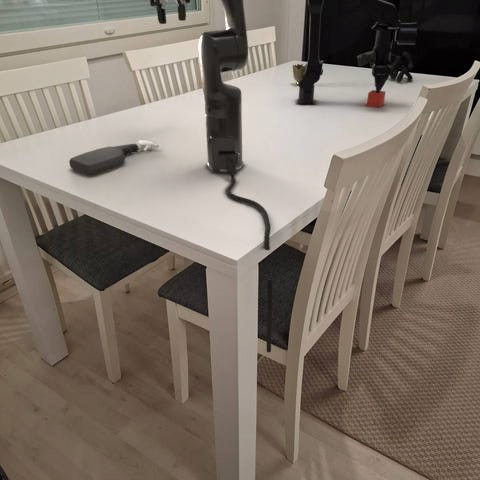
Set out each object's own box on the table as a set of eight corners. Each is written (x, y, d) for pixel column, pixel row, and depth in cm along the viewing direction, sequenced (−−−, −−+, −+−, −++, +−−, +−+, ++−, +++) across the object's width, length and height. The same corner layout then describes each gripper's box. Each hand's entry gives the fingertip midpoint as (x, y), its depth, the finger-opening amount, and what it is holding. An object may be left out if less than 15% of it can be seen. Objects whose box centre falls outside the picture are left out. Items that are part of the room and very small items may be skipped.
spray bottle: (67, 168, 120) (139, 144, 136) (91, 178, 114) (163, 151, 130) (65, 157, 118) (137, 134, 134) (89, 167, 112) (162, 142, 128)
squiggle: (400, 92, 202) (376, 71, 205) (417, 76, 202) (392, 56, 205) (405, 81, 191) (380, 59, 194) (423, 64, 191) (397, 42, 194)
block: (371, 102, 170) (372, 89, 167) (383, 104, 168) (385, 91, 165) (366, 105, 167) (368, 92, 164) (379, 107, 164) (381, 94, 162)
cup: (289, 85, 195) (289, 66, 191) (295, 82, 200) (296, 63, 196) (305, 87, 192) (306, 67, 188) (311, 83, 197) (312, 64, 193)
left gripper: (173, -45, 126) (178, 19, 135) (137, -45, 116) (145, 24, 125) (194, -45, 123) (198, 20, 132) (159, -45, 113) (166, 25, 122)
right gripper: (359, 39, 165) (354, 83, 173) (360, 48, 150) (354, 95, 158) (390, 40, 163) (384, 84, 171) (394, 48, 148) (387, 96, 156)
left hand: (172, 22), depth 128 cm, fingers open, 8 cm apart
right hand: (377, 89), depth 164 cm, fingers open, 9 cm apart
